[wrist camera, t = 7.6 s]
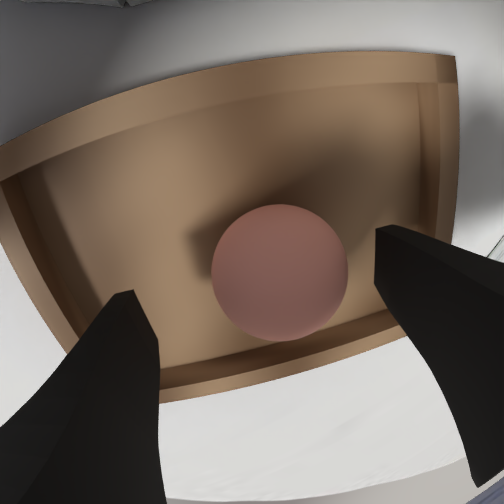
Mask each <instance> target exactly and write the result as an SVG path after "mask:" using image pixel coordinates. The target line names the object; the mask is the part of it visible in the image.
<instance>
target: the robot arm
mask: <svg viewBox="0 0 504 504" xmlns="http://www.w3.org/2000/svg"><path fill="white" fill-rule="evenodd" d="M374 285H375V287H376V289H377V290H378V292H379V294H380V296H381V298H382V300H383V301H384V303H385V305H386V307H387V308H388V310H389V311H390V313H391V314H392V315H393V317H394V318H395V320H396V321H397V322H398V324H399V325H400V326H401V328H402V329H403V330H404V332H405V333H406V335H407V336H408V337H409V339H410V340H411V341H412V343H413V344H414V346H415V347H416V348H417V350H418V351H419V353H420V354H421V355H422V357H423V358H424V360H425V361H426V363H427V364H428V366H429V368H430V369H431V371H432V373H433V375H434V377H435V379H436V381H437V383H438V385H439V386H440V388H441V390H442V392H443V395H444V397H445V399H446V401H447V403H448V406H449V408H450V410H451V413H452V415H453V417H454V420H455V423H456V425H457V428H458V431H459V434H460V436H461V439H462V442H463V445H464V449H465V452H466V456H467V459H468V463H469V467H470V472H471V477H472V479H473V481H474V483H475V485H476V486H477V487H478V488H479V487H480V486H482V485H483V484H485V483H486V482H487V481H489V480H490V479H492V478H493V477H494V476H496V475H497V474H498V473H500V472H501V471H502V470H504V263H503V262H500V261H496V260H493V259H490V258H487V257H484V256H481V255H478V254H475V253H473V252H470V251H467V250H464V249H461V248H459V247H456V246H454V245H451V244H448V243H446V242H443V241H440V240H438V239H435V238H433V237H430V236H427V235H425V234H422V233H419V232H417V231H414V230H411V229H408V228H405V227H402V226H398V225H394V224H391V225H387V226H383V227H379V228H375V266H374ZM159 391H160V355H159V342H158V338H157V336H156V334H155V332H154V330H153V328H152V326H151V324H150V322H149V320H148V318H147V316H146V314H145V312H144V310H143V308H142V306H141V304H140V302H139V300H138V298H137V296H136V294H135V291H134V289H132V290H128V291H124V292H120V293H116V294H114V295H113V296H112V297H111V298H110V299H109V301H108V302H107V303H106V304H105V306H104V307H103V308H102V310H101V311H100V312H99V313H98V315H97V316H96V317H95V319H94V320H93V321H92V323H91V324H90V325H89V327H88V328H87V330H86V331H85V332H84V334H83V335H82V336H81V338H80V339H79V340H78V342H77V343H76V344H75V346H74V347H73V348H72V349H71V351H70V352H69V353H68V354H67V356H66V357H65V358H64V360H63V361H62V362H61V364H60V365H59V366H58V367H57V369H56V370H55V371H54V372H53V374H52V375H51V376H50V377H49V378H48V379H47V381H46V382H45V383H44V384H43V385H42V386H41V387H40V388H39V390H38V391H37V392H36V393H35V394H34V395H33V396H32V397H31V398H30V399H29V400H28V401H27V402H26V403H25V404H24V405H23V406H22V407H21V408H20V409H19V410H18V411H17V412H16V413H15V414H14V415H13V416H12V417H11V418H10V419H9V420H8V421H7V422H6V423H5V424H4V425H2V426H1V427H0V504H167V502H166V497H165V491H164V485H163V479H162V473H161V465H160V457H159V448H158V416H159ZM466 504H504V477H503V478H501V479H500V480H499V481H498V482H496V483H495V484H493V485H492V486H491V487H489V488H488V489H487V490H485V491H484V492H482V493H481V494H479V495H478V496H476V497H475V498H473V499H472V500H470V501H469V502H467V503H466Z"/></svg>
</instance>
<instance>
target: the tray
mask: <svg viewBox="0 0 504 504" xmlns="http://www.w3.org/2000/svg"><path fill="white" fill-rule="evenodd" d="M458 170H459V97H458V82H457V70H456V60H455V56H450V55H441V54H430V53H416V52H396V51H347V52H326V53H312V54H300V55H290V56H282V57H274V58H266V59H259V60H253V61H246V62H241V63H235V64H229V65H224V66H219V67H214V68H209V69H205V70H200V71H196V72H192V73H188V74H184V75H180V76H176V77H172V78H168V79H164V80H161V81H157V82H154V83H150V84H147V85H144V86H141V87H137V88H134V89H131V90H128V91H125V92H122V93H119V94H116V95H113V96H110V97H108V98H105V99H102V100H99V101H97V102H94V103H92V104H89V105H86V106H84V107H81V108H79V109H77V110H74V111H72V112H69V113H67V114H65V115H62V116H60V117H58V118H56V119H53V120H51V121H49V122H47V123H45V124H42V125H40V126H38V127H36V128H34V129H32V130H30V131H28V132H26V133H24V134H22V135H20V136H18V137H16V138H15V139H13V140H11V141H9V142H7V143H5V144H3V145H2V146H0V243H1V245H2V247H3V249H4V251H5V253H6V255H7V257H8V259H9V261H10V263H11V265H12V267H13V268H14V270H15V272H16V274H17V276H18V278H19V279H20V281H21V283H22V285H23V287H24V288H25V290H26V292H27V294H28V295H29V297H30V299H31V300H32V302H33V304H34V305H35V307H36V309H37V310H38V312H39V313H40V315H41V317H42V318H43V320H44V321H45V323H46V324H47V326H48V327H49V329H50V330H51V332H52V333H53V335H54V336H55V338H56V339H57V341H58V342H59V343H60V345H61V346H62V348H63V349H64V351H65V352H66V353H67V354H68V353H69V352H70V351H71V349H72V348H73V347H74V346H75V344H76V343H77V342H78V340H79V339H80V338H81V336H82V335H83V334H84V332H85V331H86V330H87V328H88V327H89V325H90V324H91V323H92V321H93V320H94V319H95V317H96V316H97V315H98V313H99V312H100V311H101V310H102V308H103V307H104V306H105V304H106V303H107V302H108V301H109V299H110V298H111V297H112V296H113V295H114V294H116V293H120V292H124V291H128V290H132V289H134V291H135V294H136V296H137V298H138V300H139V302H140V304H141V306H142V308H143V310H144V312H145V314H146V316H147V318H148V320H149V322H150V324H151V326H152V328H153V330H154V332H155V334H156V336H157V338H158V342H159V355H160V391H159V404H161V403H167V402H174V401H179V400H185V399H191V398H196V397H201V396H206V395H211V394H216V393H221V392H226V391H230V390H235V389H239V388H243V387H248V386H252V385H256V384H260V383H264V382H268V381H272V380H276V379H279V378H283V377H287V376H290V375H294V374H297V373H301V372H304V371H308V370H311V369H314V368H318V367H321V366H324V365H327V364H330V363H333V362H336V361H340V360H343V359H346V358H348V357H351V356H354V355H357V354H360V353H363V352H366V351H369V350H371V349H374V348H377V347H379V346H382V345H385V344H387V343H390V342H393V341H395V340H398V339H400V338H403V337H405V336H407V335H406V333H405V332H404V330H403V329H402V328H401V326H400V325H399V324H398V322H397V321H396V320H395V318H394V317H393V315H392V314H391V313H390V311H389V310H388V308H387V307H386V305H385V303H384V301H383V300H382V298H381V296H380V294H379V292H378V290H377V289H376V287H375V285H374V266H375V228H379V227H383V226H387V225H391V224H394V225H398V226H402V227H405V228H408V229H411V230H414V231H417V232H419V233H422V234H425V235H427V236H430V237H433V238H435V239H438V240H440V241H443V242H446V243H448V244H451V241H452V234H453V226H454V218H455V209H456V198H457V186H458ZM275 204H285V205H292V206H297V207H300V208H303V209H306V210H308V211H310V212H312V213H314V214H316V215H317V216H319V217H320V218H322V219H323V220H324V221H325V222H326V223H327V224H328V225H329V226H330V227H331V228H332V229H333V230H334V232H335V233H336V234H337V236H338V237H339V239H340V241H341V243H342V245H343V248H344V250H345V254H346V258H347V262H348V283H347V288H346V292H345V295H344V298H343V300H342V302H341V304H340V306H339V308H338V310H337V311H336V313H335V314H334V315H333V316H332V318H331V319H330V320H329V321H328V322H327V323H326V324H325V325H324V326H322V327H321V328H320V329H318V330H317V331H315V332H313V333H312V334H309V335H307V336H305V337H302V338H299V339H296V340H290V341H268V340H264V339H260V338H257V337H254V336H252V335H250V334H248V333H246V332H244V331H243V330H241V329H240V328H239V327H237V326H236V325H234V324H233V322H232V321H231V320H230V319H229V318H228V317H227V316H226V315H225V313H224V312H223V310H222V309H221V307H220V306H219V304H218V301H217V299H216V297H215V294H214V290H213V286H212V277H211V267H212V261H213V256H214V252H215V249H216V247H217V244H218V242H219V240H220V239H221V237H222V235H223V234H224V233H225V231H226V230H227V229H228V227H229V226H230V225H231V224H232V223H233V222H234V221H236V220H237V219H238V218H239V217H241V216H242V215H244V214H246V213H247V212H250V211H252V210H254V209H256V208H259V207H263V206H267V205H275Z"/></svg>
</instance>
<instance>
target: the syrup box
mask: <svg viewBox="0 0 504 504" xmlns="http://www.w3.org/2000/svg"><path fill="white" fill-rule="evenodd" d="M488 258H490V259H493V260H496V261H500V262H503V263H504V237H503V238H502V240H501V241H500V242H499V244H498V245H497V246H496V248H495V249H494V250H493V251H492V253H491V254H490V255H489V257H488Z"/></svg>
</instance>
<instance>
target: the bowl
mask: <svg viewBox="0 0 504 504" xmlns="http://www.w3.org/2000/svg"><path fill="white" fill-rule="evenodd" d="M21 1H23V2H69V3H85V4H97V5H106V6H115V7H122V8H123V6H124V4H125V1H127V2H128V3H129V5H130V6H131V7H132V6H135V5H139V4H142V3H145V2H149V1H152V0H21Z"/></svg>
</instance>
